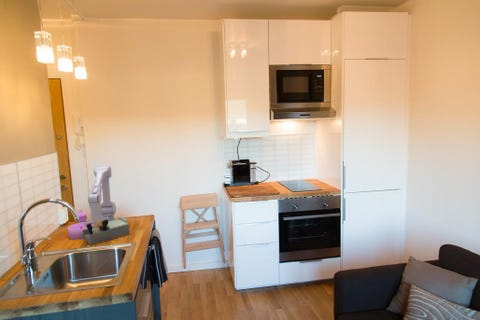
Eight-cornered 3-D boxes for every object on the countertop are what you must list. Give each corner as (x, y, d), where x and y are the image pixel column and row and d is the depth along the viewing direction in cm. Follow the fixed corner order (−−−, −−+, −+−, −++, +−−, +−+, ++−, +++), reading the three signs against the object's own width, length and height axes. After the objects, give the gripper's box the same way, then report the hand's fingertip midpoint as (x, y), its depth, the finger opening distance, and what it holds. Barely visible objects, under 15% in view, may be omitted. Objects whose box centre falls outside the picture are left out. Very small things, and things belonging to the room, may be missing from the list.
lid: (102, 224, 202) (101, 220, 202) (120, 220, 210) (119, 215, 210) (110, 229, 192) (109, 224, 192) (128, 224, 200) (128, 220, 200)
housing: (83, 239, 195) (82, 229, 194) (120, 229, 211) (120, 220, 210) (90, 245, 185) (89, 235, 184) (129, 234, 201) (128, 225, 200)
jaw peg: (96, 242, 189) (95, 233, 188) (94, 240, 192) (93, 231, 191) (103, 240, 191) (102, 231, 191) (101, 239, 194) (100, 229, 194)
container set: (94, 236, 200) (92, 216, 198) (68, 241, 193) (65, 221, 191) (94, 225, 222) (92, 207, 220) (70, 229, 215) (68, 210, 214)
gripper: (85, 217, 181) (88, 238, 183) (110, 211, 191) (112, 232, 193) (81, 214, 187) (84, 235, 188) (106, 209, 196) (108, 229, 198)
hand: (98, 233), depth 191 cm, fingers open, 7 cm apart
